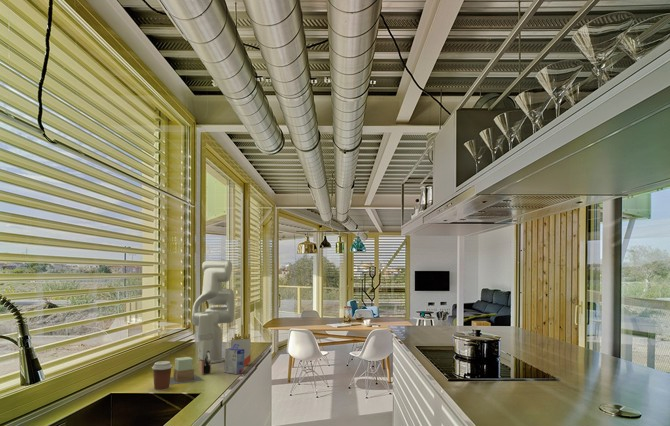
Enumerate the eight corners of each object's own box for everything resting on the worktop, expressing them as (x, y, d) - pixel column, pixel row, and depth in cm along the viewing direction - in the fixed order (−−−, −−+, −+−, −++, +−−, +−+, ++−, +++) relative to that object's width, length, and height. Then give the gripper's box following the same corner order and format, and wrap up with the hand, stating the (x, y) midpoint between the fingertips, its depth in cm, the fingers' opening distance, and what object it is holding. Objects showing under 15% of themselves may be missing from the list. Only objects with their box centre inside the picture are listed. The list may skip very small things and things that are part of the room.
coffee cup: (167, 386, 224) (167, 359, 225) (175, 389, 217) (176, 362, 218) (147, 389, 217) (148, 362, 219) (155, 393, 211) (156, 365, 212)
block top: (174, 368, 237) (175, 358, 237) (189, 366, 240) (189, 356, 241) (178, 371, 231) (178, 360, 231) (192, 369, 234) (193, 358, 235)
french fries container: (230, 365, 270) (231, 333, 272) (250, 364, 272) (250, 332, 274) (230, 367, 265) (231, 334, 267) (250, 365, 268) (250, 333, 270)
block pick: (198, 373, 249) (199, 360, 250) (208, 372, 252) (208, 358, 253) (201, 375, 245) (201, 361, 246) (211, 374, 248) (211, 360, 248)
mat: (163, 379, 238) (163, 378, 238) (195, 375, 246) (195, 374, 246) (170, 385, 224) (170, 384, 224) (204, 381, 232) (204, 380, 232)
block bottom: (173, 378, 236) (173, 368, 237) (189, 376, 240) (189, 366, 241) (177, 382, 230) (177, 371, 230) (193, 379, 234) (194, 369, 234)
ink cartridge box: (244, 372, 250) (245, 344, 252) (236, 374, 246) (237, 346, 247) (232, 370, 256) (232, 343, 258) (224, 372, 252) (224, 344, 253)
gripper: (194, 335, 256) (193, 370, 254) (203, 339, 242) (202, 376, 239) (208, 334, 260) (207, 368, 258) (217, 338, 245) (217, 374, 243)
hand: (205, 372), depth 249 cm, fingers closed on block pick, 5 cm apart
